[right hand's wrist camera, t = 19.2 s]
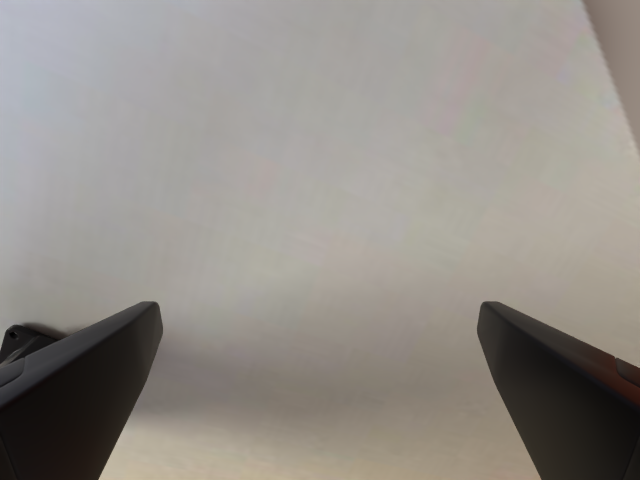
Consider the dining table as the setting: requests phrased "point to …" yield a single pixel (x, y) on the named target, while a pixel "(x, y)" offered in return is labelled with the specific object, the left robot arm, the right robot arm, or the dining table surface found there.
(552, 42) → the dining table surface
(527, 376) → the right robot arm
